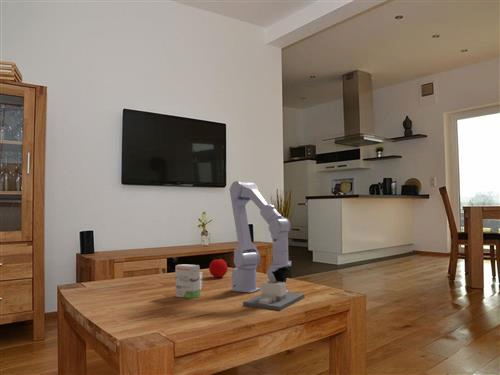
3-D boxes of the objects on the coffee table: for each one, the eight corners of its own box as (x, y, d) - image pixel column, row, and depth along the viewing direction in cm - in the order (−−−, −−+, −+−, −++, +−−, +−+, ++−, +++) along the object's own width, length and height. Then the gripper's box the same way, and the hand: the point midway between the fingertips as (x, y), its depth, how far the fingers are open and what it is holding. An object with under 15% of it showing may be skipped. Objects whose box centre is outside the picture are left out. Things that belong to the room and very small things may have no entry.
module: (261, 298, 129) (261, 281, 130) (266, 296, 133) (266, 279, 133) (280, 300, 125) (280, 283, 126) (285, 298, 129) (285, 281, 129)
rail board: (243, 305, 125) (242, 296, 125) (270, 293, 142) (270, 285, 142) (280, 310, 118) (280, 300, 118) (304, 297, 135) (304, 289, 135)
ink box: (200, 296, 140) (200, 264, 141) (192, 299, 136) (192, 266, 136) (183, 293, 144) (183, 263, 145) (174, 296, 140) (174, 265, 141)
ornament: (210, 279, 174) (209, 258, 174) (208, 276, 183) (208, 256, 183) (229, 278, 176) (228, 257, 176) (226, 275, 184) (226, 255, 185)
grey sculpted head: (281, 283, 161) (281, 267, 161) (265, 283, 162) (265, 267, 163) (283, 281, 167) (282, 265, 167) (267, 280, 168) (267, 265, 169)
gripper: (281, 253, 127) (282, 293, 126) (298, 249, 140) (299, 286, 139) (263, 252, 131) (264, 291, 130) (281, 248, 143) (282, 284, 142)
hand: (281, 288), depth 134 cm, fingers closed
